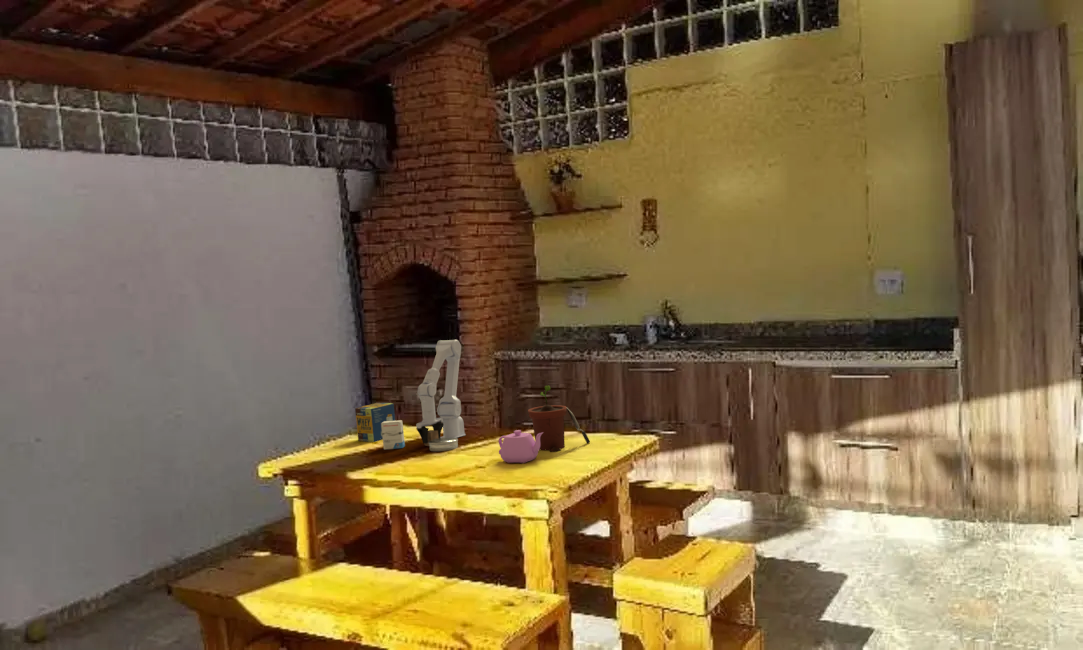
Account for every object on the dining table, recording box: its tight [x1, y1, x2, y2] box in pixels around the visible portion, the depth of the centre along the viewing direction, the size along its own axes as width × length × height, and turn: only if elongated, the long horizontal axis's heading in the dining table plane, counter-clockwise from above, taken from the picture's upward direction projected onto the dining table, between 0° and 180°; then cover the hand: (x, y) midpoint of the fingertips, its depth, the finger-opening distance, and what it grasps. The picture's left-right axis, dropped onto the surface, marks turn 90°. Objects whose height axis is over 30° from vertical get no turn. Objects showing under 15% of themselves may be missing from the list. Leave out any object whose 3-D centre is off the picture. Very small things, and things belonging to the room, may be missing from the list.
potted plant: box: [527, 385, 591, 453], centre depth 359 cm, size 18×22×25 cm
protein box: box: [354, 402, 396, 443], centre depth 413 cm, size 10×15×16 cm
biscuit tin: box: [428, 438, 459, 452], centre depth 377 cm, size 12×12×4 cm
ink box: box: [381, 419, 406, 450], centre depth 386 cm, size 8×5×12 cm, turn 84°
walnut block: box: [423, 429, 439, 447], centre depth 387 cm, size 4×4×6 cm
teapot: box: [498, 429, 544, 464], centre depth 339 cm, size 20×13×12 cm, turn 65°
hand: (431, 441), depth 387 cm, fingers open, 7 cm apart
